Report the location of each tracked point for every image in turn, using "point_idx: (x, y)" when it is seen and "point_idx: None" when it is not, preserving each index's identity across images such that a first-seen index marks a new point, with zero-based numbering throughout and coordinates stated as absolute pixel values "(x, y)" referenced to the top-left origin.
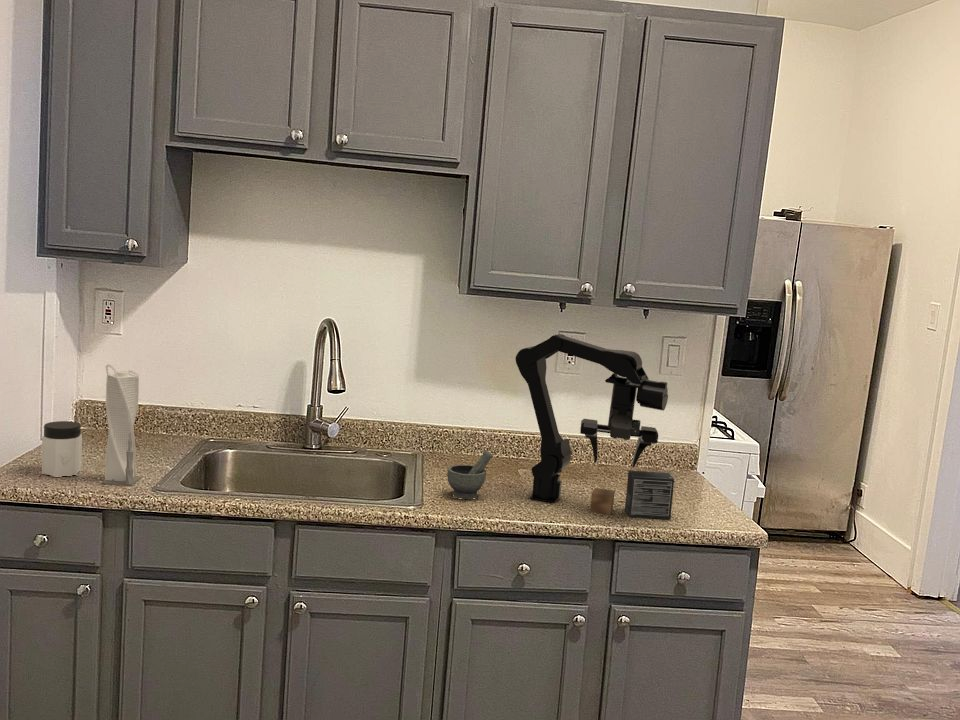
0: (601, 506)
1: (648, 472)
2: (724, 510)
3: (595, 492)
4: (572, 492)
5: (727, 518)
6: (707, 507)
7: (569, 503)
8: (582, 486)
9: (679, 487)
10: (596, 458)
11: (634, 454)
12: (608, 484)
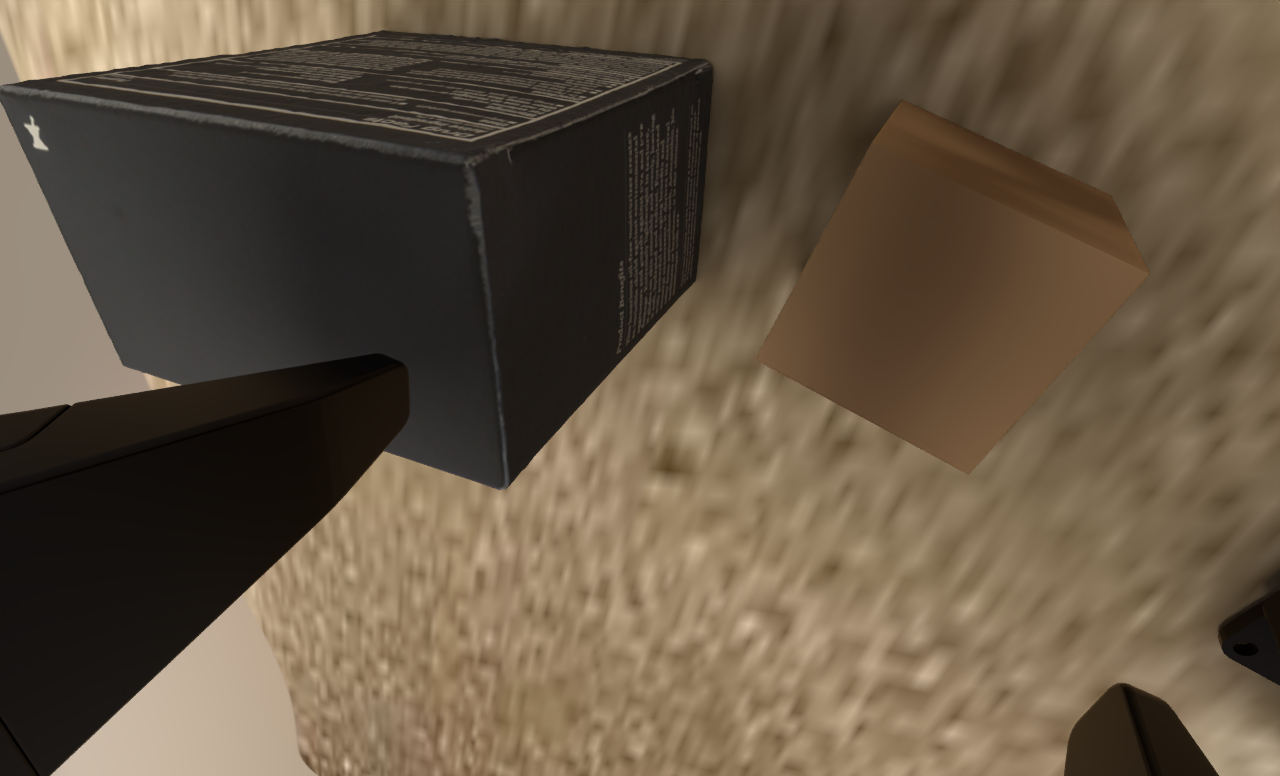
0: (994, 162)
1: (281, 366)
2: None
3: (1073, 287)
4: (997, 687)
5: None
6: None
7: (1214, 465)
8: (851, 753)
9: (339, 612)
10: (1170, 773)
11: (218, 576)
12: (666, 731)
